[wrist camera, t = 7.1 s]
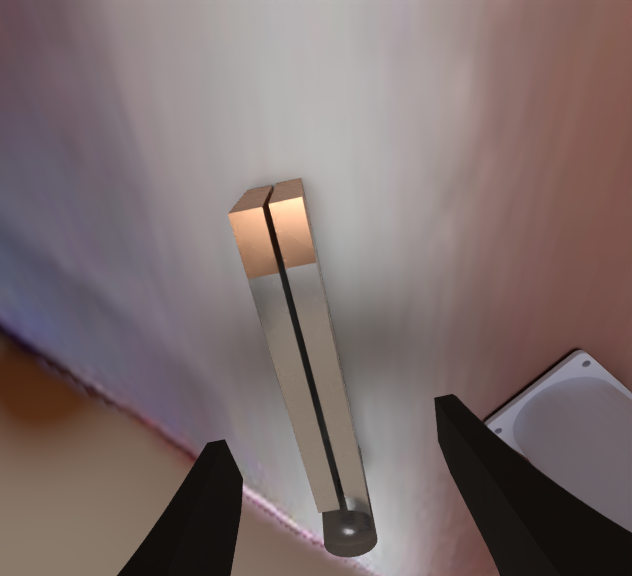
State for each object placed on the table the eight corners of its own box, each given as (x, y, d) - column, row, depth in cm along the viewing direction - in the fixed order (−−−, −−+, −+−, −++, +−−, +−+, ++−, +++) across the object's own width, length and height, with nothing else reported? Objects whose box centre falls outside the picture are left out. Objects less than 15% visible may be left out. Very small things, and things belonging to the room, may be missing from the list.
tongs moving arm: (332, 435, 23) (340, 509, 19) (314, 438, 23) (318, 512, 19) (272, 185, 16) (262, 206, 12) (247, 190, 16) (227, 214, 12)
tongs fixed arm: (363, 463, 25) (380, 552, 20) (323, 471, 25) (329, 560, 20) (303, 177, 17) (305, 200, 11) (242, 190, 17) (216, 219, 11)
